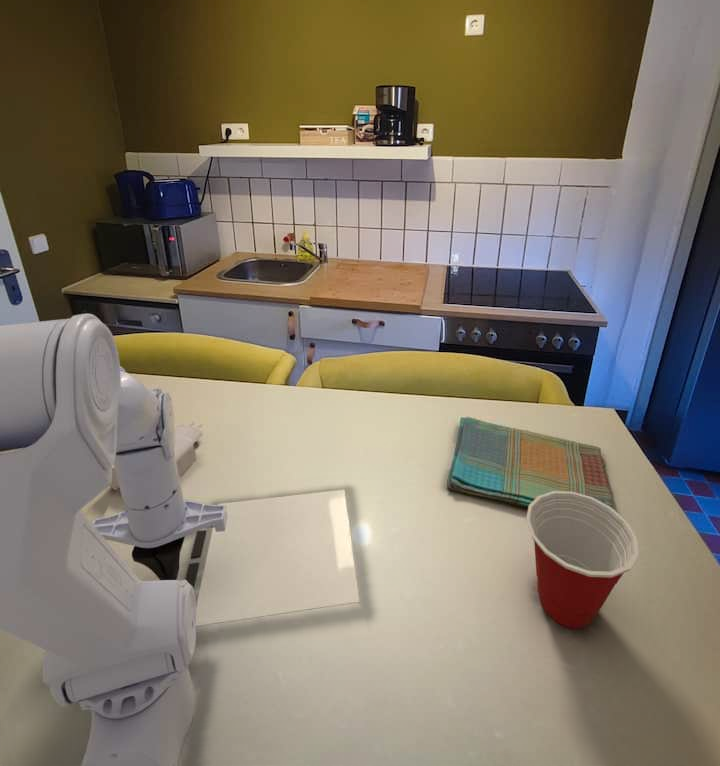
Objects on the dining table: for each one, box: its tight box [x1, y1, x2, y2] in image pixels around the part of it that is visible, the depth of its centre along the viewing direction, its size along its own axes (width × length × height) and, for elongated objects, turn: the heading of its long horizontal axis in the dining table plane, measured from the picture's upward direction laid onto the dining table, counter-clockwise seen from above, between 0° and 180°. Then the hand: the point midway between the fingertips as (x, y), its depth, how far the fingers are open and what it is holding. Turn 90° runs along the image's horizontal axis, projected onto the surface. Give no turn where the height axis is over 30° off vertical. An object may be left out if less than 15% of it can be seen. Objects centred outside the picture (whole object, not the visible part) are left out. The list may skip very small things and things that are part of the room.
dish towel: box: [446, 416, 616, 511], centre depth 69 cm, size 17×23×2 cm
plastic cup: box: [525, 491, 640, 630], centre depth 48 cm, size 11×11×12 cm
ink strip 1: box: [190, 529, 207, 559], centre depth 56 cm, size 4×1×1 cm
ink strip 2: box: [184, 561, 200, 590], centre depth 52 cm, size 4×1×1 cm
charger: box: [109, 421, 203, 491], centre depth 71 cm, size 5×9×15 cm
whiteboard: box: [196, 489, 360, 627], centre depth 56 cm, size 18×20×1 cm
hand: (171, 575), depth 52 cm, fingers closed
